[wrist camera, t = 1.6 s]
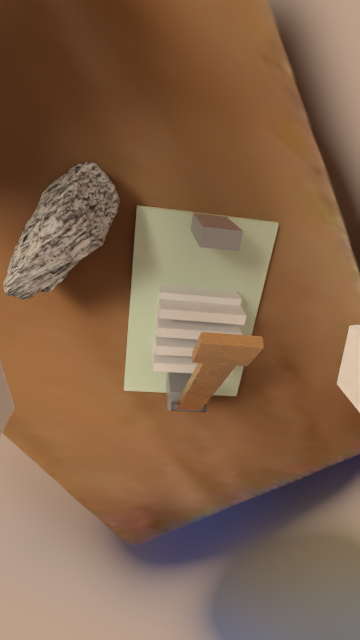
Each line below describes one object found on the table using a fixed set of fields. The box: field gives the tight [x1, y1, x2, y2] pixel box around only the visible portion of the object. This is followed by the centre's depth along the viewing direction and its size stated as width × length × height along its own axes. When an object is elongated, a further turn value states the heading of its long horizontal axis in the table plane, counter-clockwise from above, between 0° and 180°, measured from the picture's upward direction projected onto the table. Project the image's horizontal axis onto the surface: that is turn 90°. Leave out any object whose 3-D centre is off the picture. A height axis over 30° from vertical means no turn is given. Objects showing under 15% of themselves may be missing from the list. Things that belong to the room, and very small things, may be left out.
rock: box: [3, 162, 120, 300], centre depth 37 cm, size 16×8×10 cm, turn 123°
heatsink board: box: [124, 205, 279, 410], centre depth 43 cm, size 17×26×9 cm, turn 173°
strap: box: [171, 332, 264, 412], centre depth 36 cm, size 21×5×1 cm
